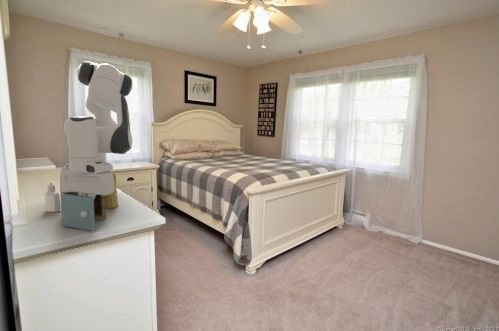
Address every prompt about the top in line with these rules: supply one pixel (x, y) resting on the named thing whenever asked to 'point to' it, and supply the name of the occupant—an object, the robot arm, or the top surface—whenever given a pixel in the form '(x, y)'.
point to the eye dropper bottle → (52, 199)
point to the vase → (112, 197)
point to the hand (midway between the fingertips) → (87, 205)
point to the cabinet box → (98, 204)
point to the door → (77, 211)
